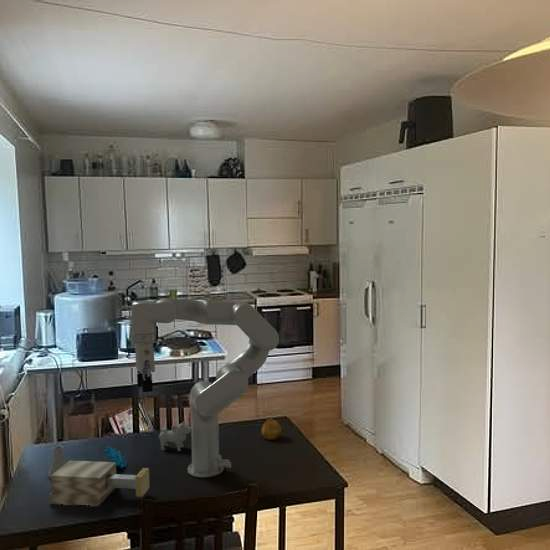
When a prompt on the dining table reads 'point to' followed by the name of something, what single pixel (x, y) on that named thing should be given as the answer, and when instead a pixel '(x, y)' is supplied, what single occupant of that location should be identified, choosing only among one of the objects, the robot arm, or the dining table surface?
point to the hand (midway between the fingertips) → (144, 388)
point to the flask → (56, 460)
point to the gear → (115, 456)
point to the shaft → (130, 481)
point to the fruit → (271, 429)
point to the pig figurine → (174, 435)
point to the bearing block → (81, 483)
